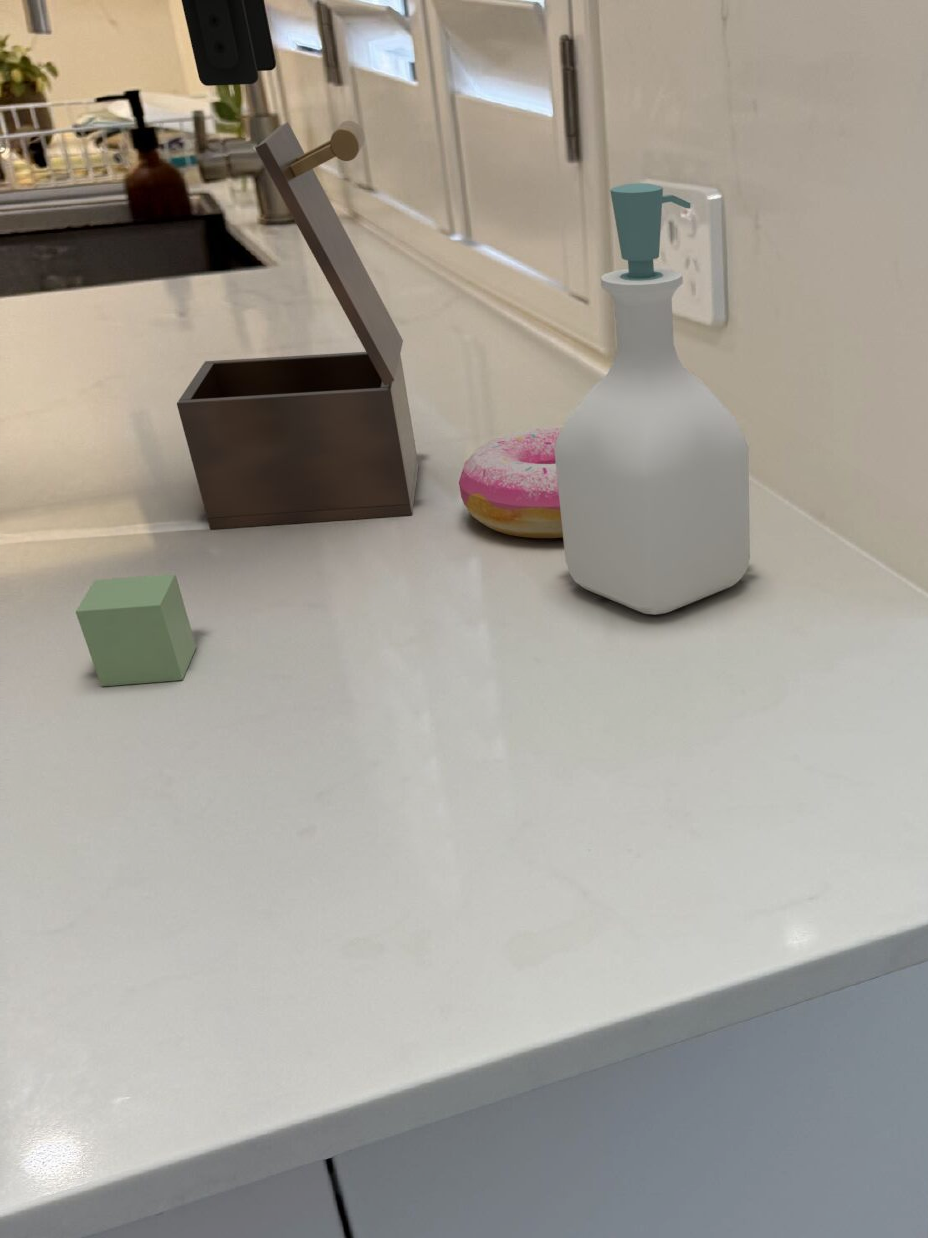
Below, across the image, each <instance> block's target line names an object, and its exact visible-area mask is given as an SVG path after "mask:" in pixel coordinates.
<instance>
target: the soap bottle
mask: <svg viewBox="0 0 928 1238" xmlns="http://www.w3.org/2000/svg"><path fill="white" fill-rule="evenodd" d="M609 191H610V197H611V202H612V208H613V215H614V220H615V226H616V231H617V239H618V244H619V249H620V255H621V256H620V257H621V259H622V260H624V261H627V268H625V269H618V270H613V271H610V272H607V273H604V274H602V275H601V276H600V285H601V288H602V289H603V291H605V292H607V293H608V294H609V295H610V297H611V298H612V299H613V304H614V305H613V306H614V320H615V321H614V322H615V333H616V350H615V354H614V358H613V361H612V363H611V365H610V368H609V369H608V372H607V374H605V375H604V376H603V377H602V378H601V379H600V380H599V381H598V382H597V383H596V384H595V385H594V386H592V387H591V389H590V390H589V391H588V392H587V393H586V394H585V396H584V397H583V398H582V399H581V401H580V402H579V403H578V405H577V406H576V407H575V408H574V410H573V411H572V413H571V414H570V415H569V416H568V417H567V419H566V420H565V421H564V423H563V425H562V426H561V427H562V429H561V431H560V434H559V436H558V438H557V442H556V447H555V461H556V471H557V481H558V491H559V500H560V510H561V520H562V530H563V537H562V540H563V549H564V558H565V563H566V566H567V570H568V572H569V574H570V576H571V577H572V579H573V580H574V582H575V583H576V584H577V585H578V586H580V587H581V588H583V589H585V590H586V591H588V592H591V593H593V594H596V595H598V596H601V597H603V598H606V599H607V600H611V601H613V602H615V603H618V604H620V605H622V606H625V607H627V608H630V609H631V610H635V611H637V612H639V613H642V614H645V615H654V616H655V615H663V614H667V613H670V612H673V611H676V610H678V609H680V608H682V607H686V606H688V605H689V604H692V603H695V602H698V601H700V600H702V599H704V598H707V597H711V596H712V595H715V594H717V593H719V592H722V591H724V590H727V589H729V588H731V587H734V585H736V584H737V583H738V582H739V581H741V579H742V578H743V577H744V575H745V573H746V572H747V571H748V569H749V568H748V567H749V562H750V559H751V535H750V534H751V533H750V531H751V529H750V526H751V524H750V523H751V521H750V457H749V456H750V455H749V454H750V453H749V452H750V451H749V450H750V449H749V445H748V441H747V437H746V435H745V433H744V432H743V430H742V428H741V426H740V424H739V423H738V421H737V419H736V418H735V416H733V414H732V413H731V412H730V411H729V409H728V408H727V407H726V406H725V405H724V404H723V402H722V401H721V400H720V398H718V396H716V395H715V393H714V392H713V391H712V390H711V389H710V388H709V387H708V386H707V385H706V384H705V383H704V382H703V381H702V380H701V379H699V378H698V377H697V376H696V375H694V374H693V373H692V372H690V371H689V370H688V369H686V368H685V367H684V365H683V364H682V362H681V360H680V358H679V355H678V353H677V350H676V348H675V343H674V321H673V318H674V317H673V300H672V299H673V297H674V294H675V293H676V291H677V290H678V288H680V287H681V286H682V285H683V283H684V282H683V281H684V279H683V274H682V273H681V272H680V271H679V270H674V269H671V268H670V269H669V268H663V267H662V268H661V267H654V266H655V265H654V260H656V259H658V258H660V250H661V249H660V246H661V230H662V229H661V228H662V213H663V212H662V211H663V204H666V203H673V204H676V205H678V206H680V207H683V208H685V209H691V206H692V205H691V204H692V203H691V202H689V201H686V200H684V199H683V198H680V197H678V196H676V195H674V194H664V195H663V193H664V188H663V186H661V185H657V184H652V183H644V182H634V183H625V184H622V185H621V184H620V185H617V186H613V187H611V188H610V189H609Z"/></svg>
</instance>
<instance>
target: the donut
mask: <svg viewBox="0 0 928 1238" xmlns="http://www.w3.org/2000/svg"><path fill="white" fill-rule="evenodd" d="M562 427H563V426H557V427H555V426H554V427H544V428H536V429H530V430H524V431H520V432H515V433H511V434H508V435H504V436H500V437H498V438H496V439H493V440H491V441H488V442H486V443H485V444H483V445H481V446H480V447H478V449H477V450H476V451H475V452H474V453H472V455H471V456H470V457H469V458H467V460H466V461H465V462H464V465H463V468H462V470H461V473H460V477H459V479H458V480H459V481H458V485H459V492H460V498H461V500H462V503H463V505H464V506H465V508H466V509H467V511H468V512H469V514H470V516H472V518H474V519H476V520H477V521H478V522H480V523H481V524H483V525H484V526H486V527H487V528H489V529H491V530H493V531H495V532H499V533H502V534H505V535H509V536H516V537H521V538H531V539H532V538H533V539H560V538H562V539H563V530H562V520H561V510H560V500H559V491H558V481H557V471H556V461H555V447H556V442H557V438H558V436H559V434H560V431H561V429H562Z"/></svg>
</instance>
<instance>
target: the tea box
mask: <svg viewBox="0 0 928 1238" xmlns="http://www.w3.org/2000/svg"><path fill="white" fill-rule="evenodd" d="M405 380H406V379H405V374H404V367H403V360H402V356H401V354H400V357H399V362H398V367H397V371H396V376H395V380H394V381H393V382H391V383H389V384H387V385H384V383H383V382H382V380H381V378H380V376H379V374H378V372H377V371H376V369H375V367H374V365H373V363H372V361H371V360H370V358H369V356H368V354H367V352H366V351H356V352H354V351H353V352H340V353H339V352H337V353H321V354H305V355H287V356H286V355H285V356H274V357H273V356H272V357H271V356H270V357H254V358H253V357H252V358H237V359H235V358H234V359H222V360H221V359H220V360H219V359H218V360H205V361H204V362H203V363H202V365H201V366H200V368H199V369H198V371H197V372H196V374H195V376H194V377H193V378H192V380H191V381H190V383H189V384H188V385H187V387H186V389H185V390H184V392H183V393H182V395H181V396H180V398H179V399H178V401H177V402H176V406H177V411H178V415H179V418H180V421H181V425H182V429H183V433H184V436H185V440H186V444H187V449H188V452H189V455H190V459H191V463H192V467H193V471H194V474H195V478H196V482H197V485H198V489H199V492H200V496H201V501H202V504H203V508H204V511H205V516H206V518H207V523H208V527H209V529H210V530H219V529H235V528H247V527H249V528H251V527H261V526H263V527H264V526H276V525H277V526H278V525H290V524H304V523H318V522H319V523H320V522H334V521H335V522H336V521H347V520H362V519H363V520H364V519H374V518H375V519H376V518H388V517H389V518H390V517H392V518H393V517H402V516H406V517H407V516H412V515H413V511H414V502H415V496H416V489H417V482H418V474H419V466H420V465H419V459H418V458H419V457H418V454H417V447H416V441H415V435H414V428H413V423H412V415H411V411H410V405H409V399H408V398H409V397H408V391H407V386H406V381H405Z"/></svg>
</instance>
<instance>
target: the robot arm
mask: <svg viewBox="0 0 928 1238" xmlns="http://www.w3.org/2000/svg"><path fill="white" fill-rule="evenodd" d="M181 4H182V9H183V13H184V18H185V23H186V26H187V27H186V28H187V31H188V36H189V41H190V44H191V49H192V53H193V58H194V62H195V67H196V70H197V75H198V79H199V82H200V83H201V84H202V85H204V86H205V87H212V86H235V85H236V86H237V85H240V86H241V85H253V84H255V83H257V81H258V80H259V72H265V71H266V72H268V71H269V72H270V71H273V70H274V69H275V68H276V66H277V60H276V55H275V50H274V44H273V40H272V39H273V38H272V34H271V29H270V24H269V20H268V13H267V9H266V3H265V0H181Z"/></svg>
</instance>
